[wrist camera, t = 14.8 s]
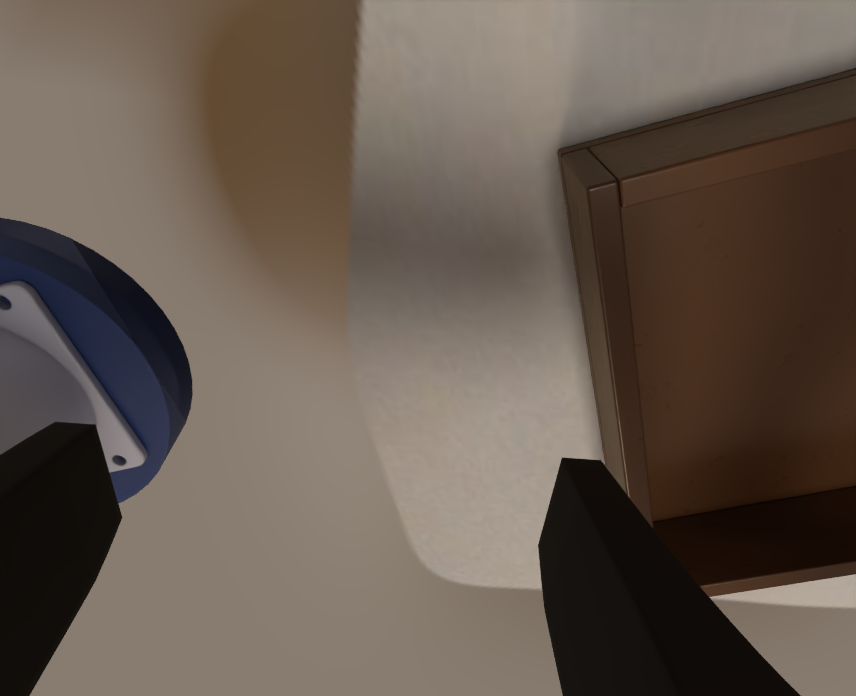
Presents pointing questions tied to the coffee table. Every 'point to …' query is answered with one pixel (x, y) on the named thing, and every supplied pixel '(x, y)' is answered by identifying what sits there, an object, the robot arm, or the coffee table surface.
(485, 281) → the coffee table surface
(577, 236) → the tray
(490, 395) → the coffee table surface
